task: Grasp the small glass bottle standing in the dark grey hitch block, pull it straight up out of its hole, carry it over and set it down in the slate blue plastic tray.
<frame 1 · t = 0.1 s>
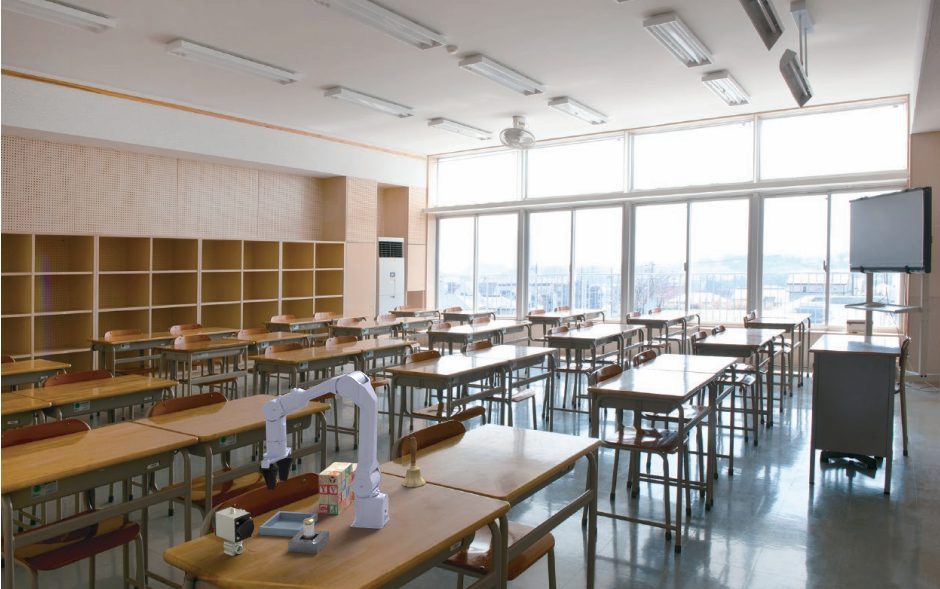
hand: (277, 484, 194), 10 cm above the table, tool pointing down, fingers open, 7 cm apart
tray: (289, 528, 186), on the table
stack of blocks: (342, 502, 208), on the table
pneumatic valve: (235, 553, 171), on the table
hand bell: (413, 484, 224), on the table
small glass bottle: (309, 545, 174), resting on hitch block
hitch block: (309, 547, 174), on the table
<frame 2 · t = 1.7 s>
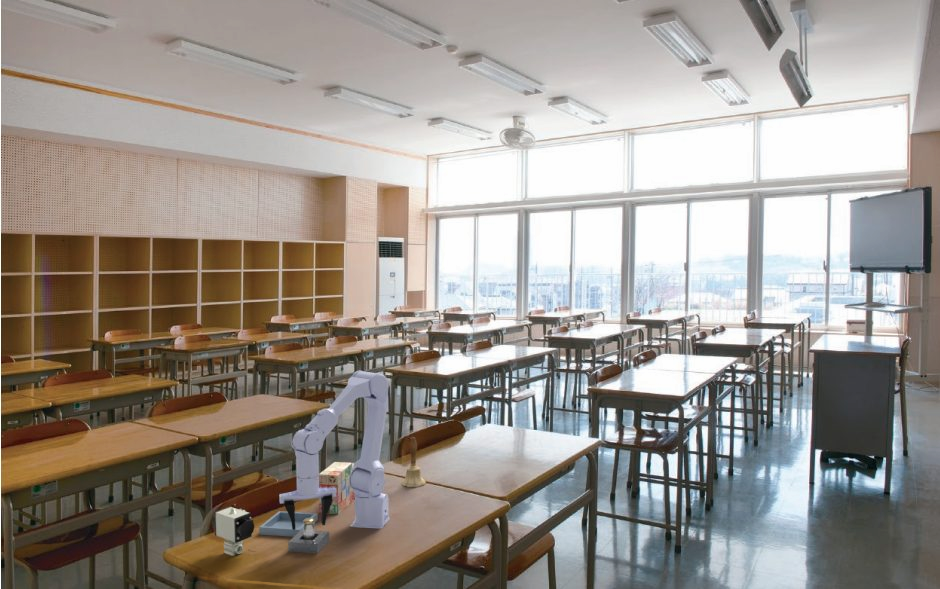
hand: (308, 526, 173), 6 cm above the table, tool pointing down, fingers open, 7 cm apart
nothing on the table moved.
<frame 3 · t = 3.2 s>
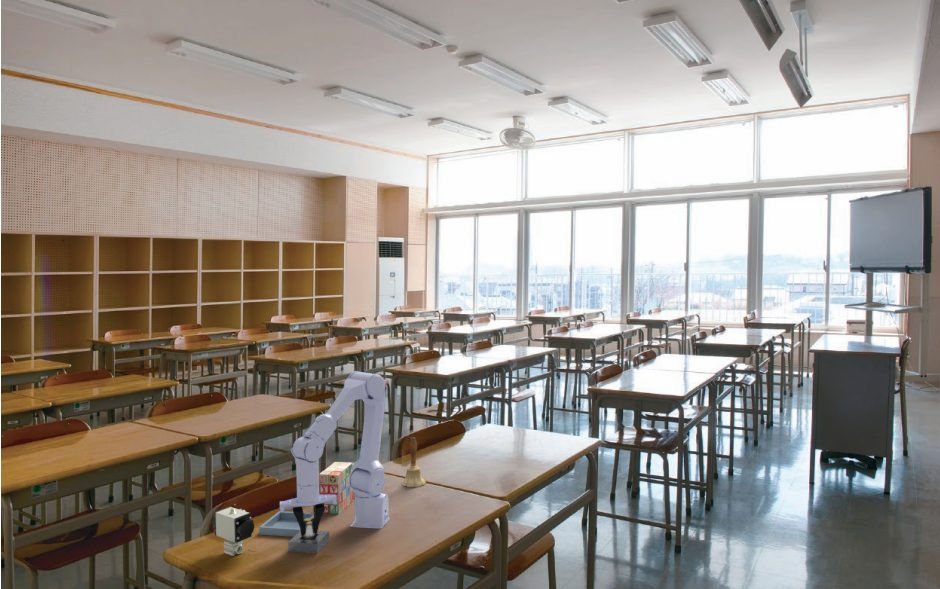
hand: (309, 533, 173), 4 cm above the table, tool pointing down, fingers closed on small glass bottle, 3 cm apart
small glass bottle: (309, 545, 174), resting on hitch block, touching gripper
everything else where it was.
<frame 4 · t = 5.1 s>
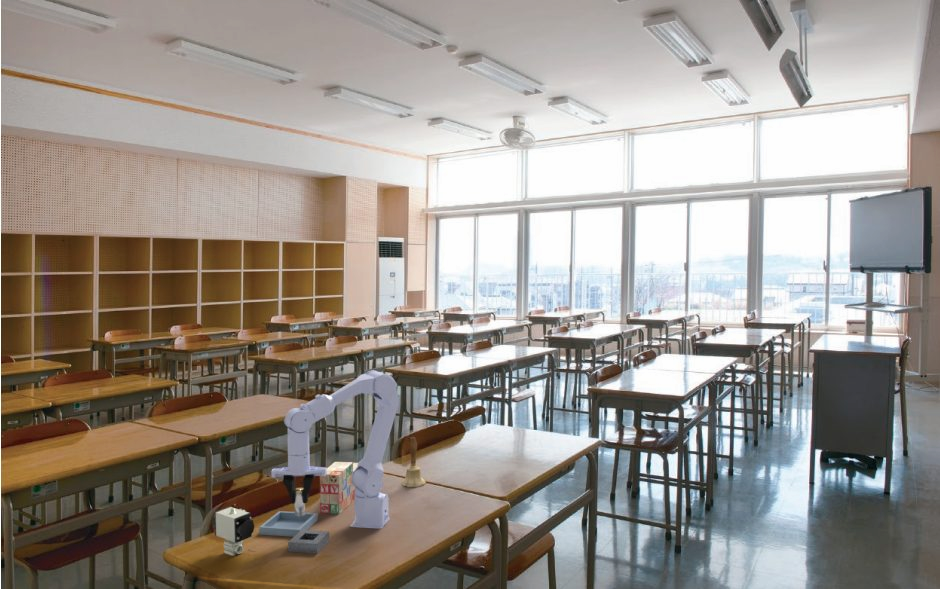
hand: (299, 502, 178), 10 cm above the table, tool pointing down, fingers closed on small glass bottle, 3 cm apart
small glass bottle: (300, 514, 178), point 7 cm above the table, touching gripper
everything else where it was.
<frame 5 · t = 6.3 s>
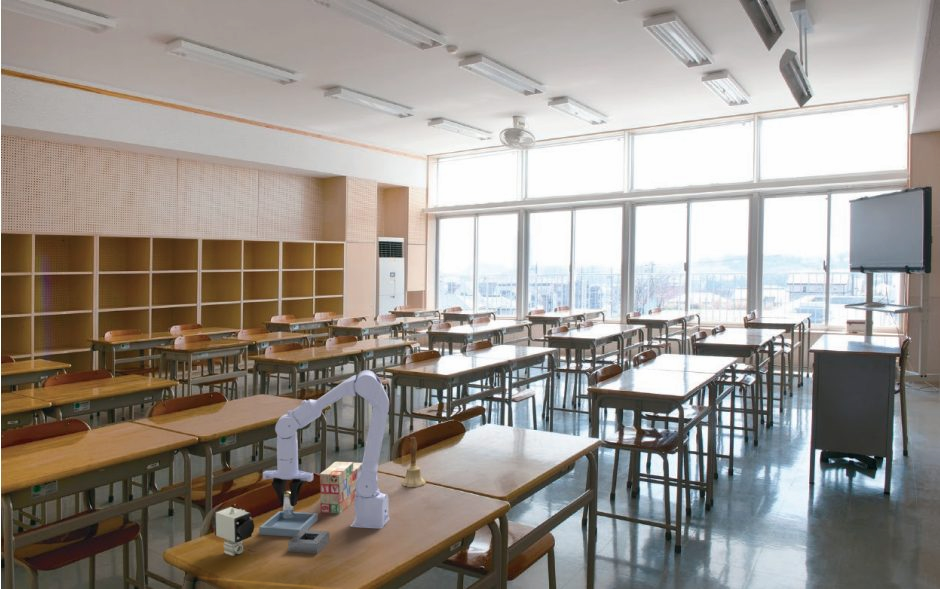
hand: (288, 504, 186), 7 cm above the table, tool pointing down, fingers closed on small glass bottle, 3 cm apart
small glass bottle: (288, 516, 186), point 4 cm above the table, touching gripper
everything else where it was.
when the fingers open (5 cm above the table, at t = 7.3 s): small glass bottle drops 1 cm, resting on tray.
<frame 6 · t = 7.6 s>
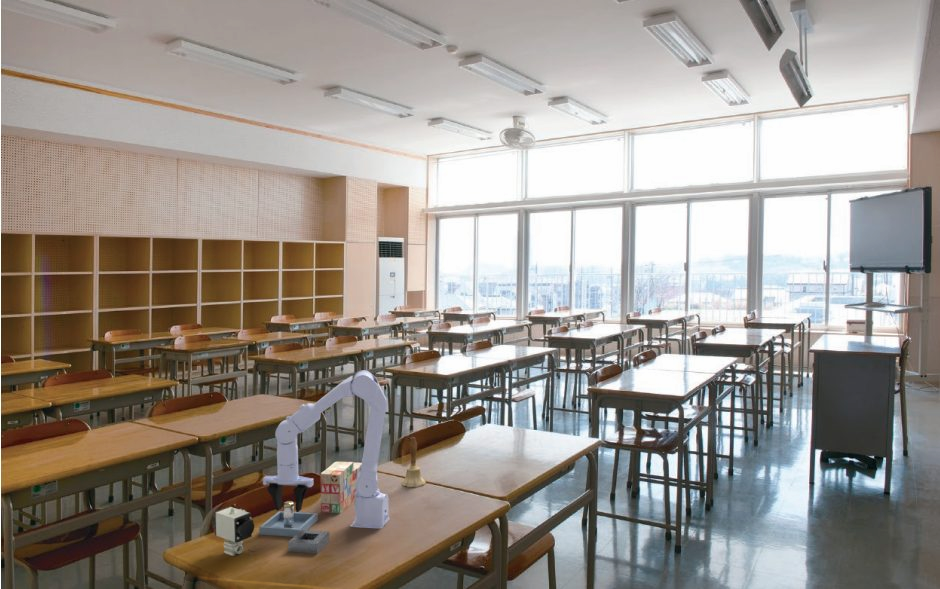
hand: (288, 510, 186), 5 cm above the table, tool pointing down, fingers open, 5 cm apart
small glass bottle: (288, 527, 186), point 1 cm above the table, touching tray
everything else where it was.
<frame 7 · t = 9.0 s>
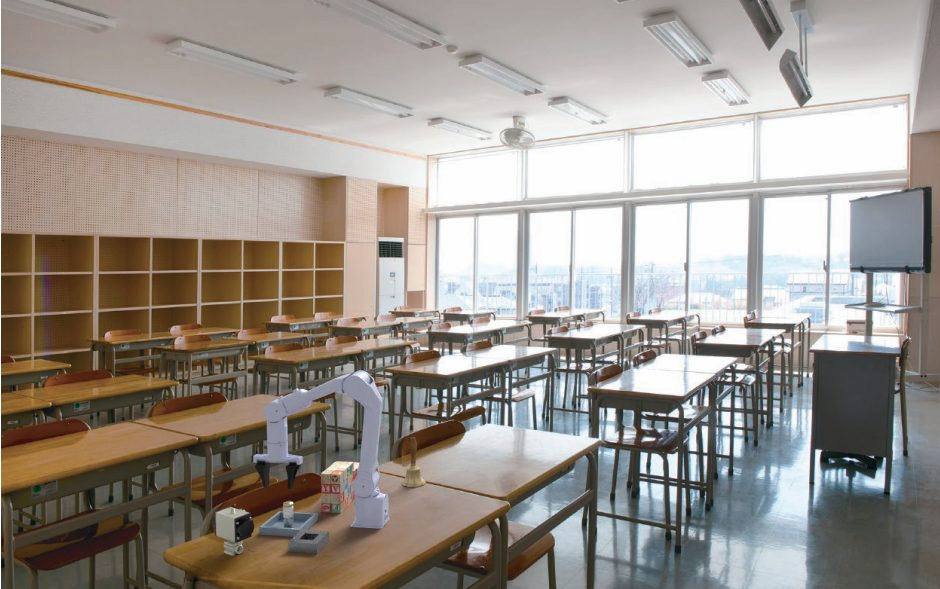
hand: (278, 487, 191), 10 cm above the table, tool pointing down, fingers open, 7 cm apart
nothing on the table moved.
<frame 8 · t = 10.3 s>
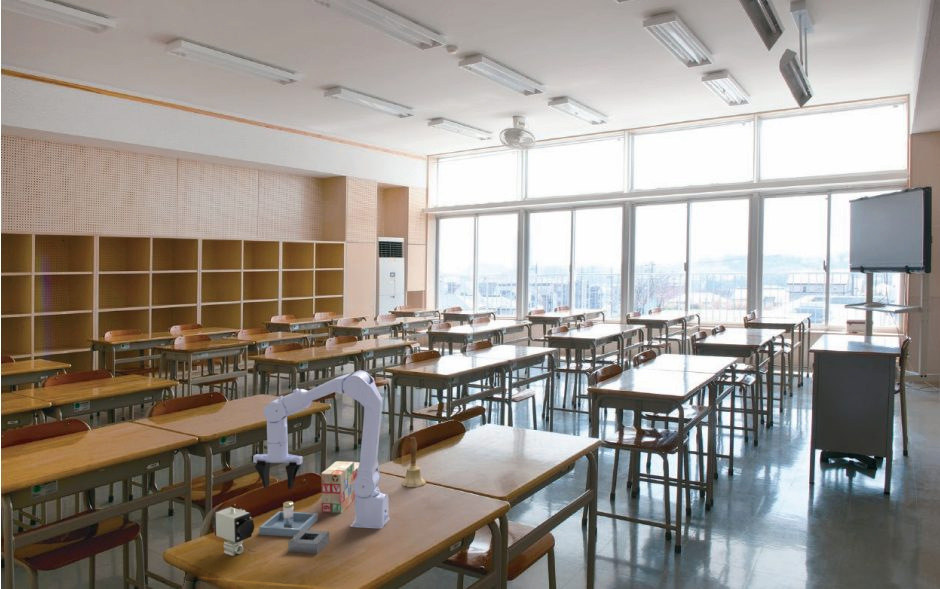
hand: (278, 487, 191), 10 cm above the table, tool pointing down, fingers open, 7 cm apart
at the end: small glass bottle inside the target area on the tray (0.2 cm from its centre), point 0.5 cm above the tray's base; the gripper is holding nothing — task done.
